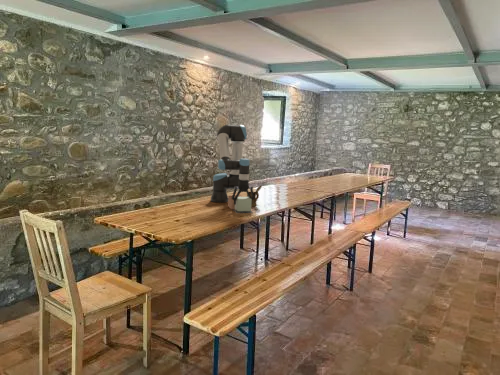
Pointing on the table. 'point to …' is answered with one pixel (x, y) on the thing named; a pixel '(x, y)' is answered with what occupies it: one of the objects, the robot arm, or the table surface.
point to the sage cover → (244, 204)
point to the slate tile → (242, 212)
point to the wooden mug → (254, 196)
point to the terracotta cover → (231, 202)
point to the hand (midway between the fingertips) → (242, 208)
